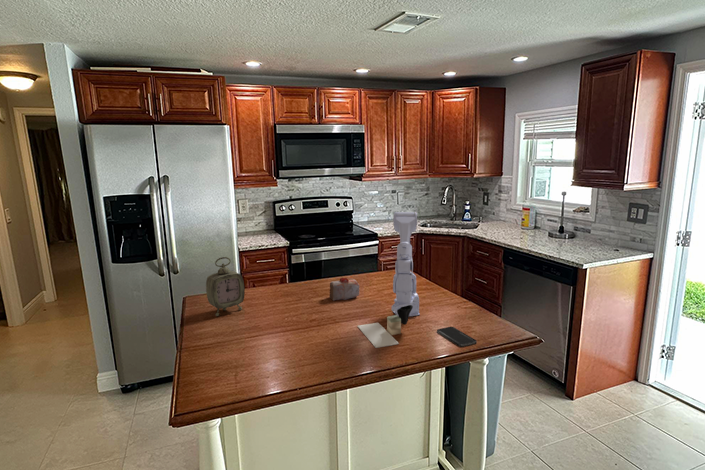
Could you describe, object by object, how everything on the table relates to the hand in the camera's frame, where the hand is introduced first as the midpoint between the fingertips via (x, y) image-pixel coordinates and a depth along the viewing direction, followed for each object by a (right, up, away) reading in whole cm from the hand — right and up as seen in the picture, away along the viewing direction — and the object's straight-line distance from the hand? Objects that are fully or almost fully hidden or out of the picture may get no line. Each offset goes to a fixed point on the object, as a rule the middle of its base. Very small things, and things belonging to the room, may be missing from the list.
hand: (403, 323), depth 159 cm
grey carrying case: (-24, +4, +40) cm, 46 cm away
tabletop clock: (-76, 0, +24) cm, 80 cm away
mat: (-11, -4, -3) cm, 11 cm away
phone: (+19, -4, -6) cm, 20 cm away
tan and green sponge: (-4, -3, -1) cm, 5 cm away
